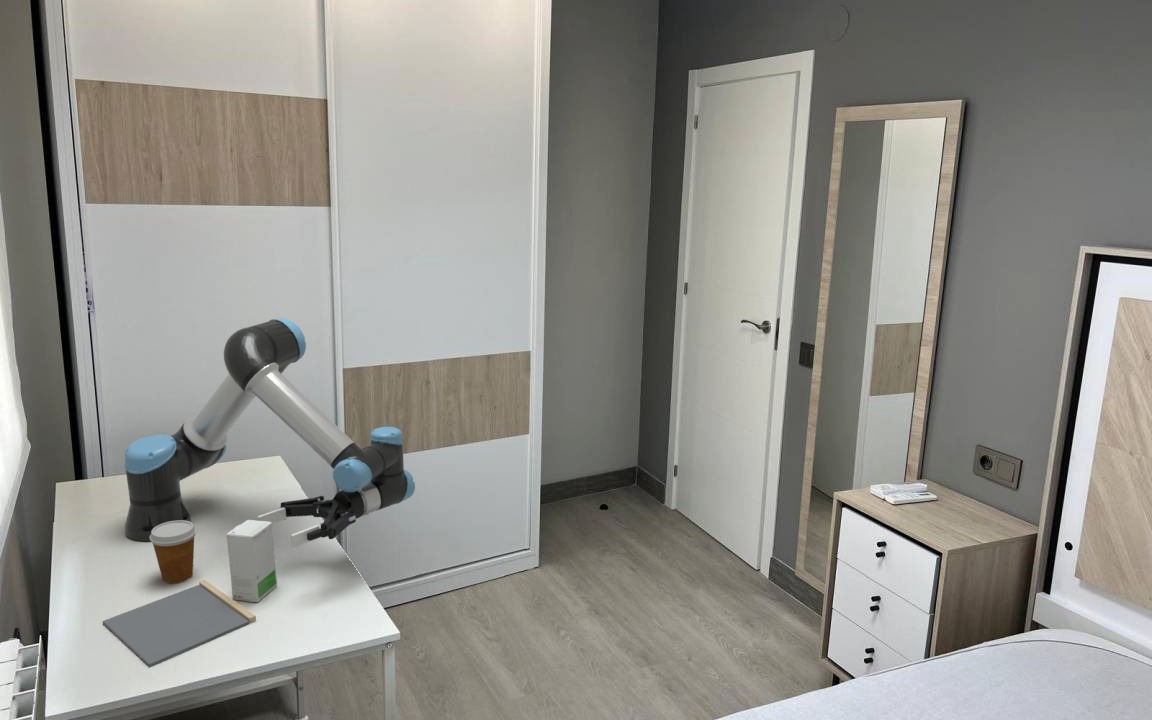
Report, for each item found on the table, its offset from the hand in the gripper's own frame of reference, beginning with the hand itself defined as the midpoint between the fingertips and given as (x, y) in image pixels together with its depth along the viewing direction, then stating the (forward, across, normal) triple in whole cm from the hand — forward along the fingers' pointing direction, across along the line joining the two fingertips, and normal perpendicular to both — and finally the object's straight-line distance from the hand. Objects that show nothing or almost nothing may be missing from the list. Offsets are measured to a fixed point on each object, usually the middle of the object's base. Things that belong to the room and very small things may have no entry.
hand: (274, 531), depth 183 cm
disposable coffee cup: (+12, +22, -14) cm, 29 cm away
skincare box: (+4, +3, -14) cm, 15 cm away
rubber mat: (+22, +3, -14) cm, 26 cm away
